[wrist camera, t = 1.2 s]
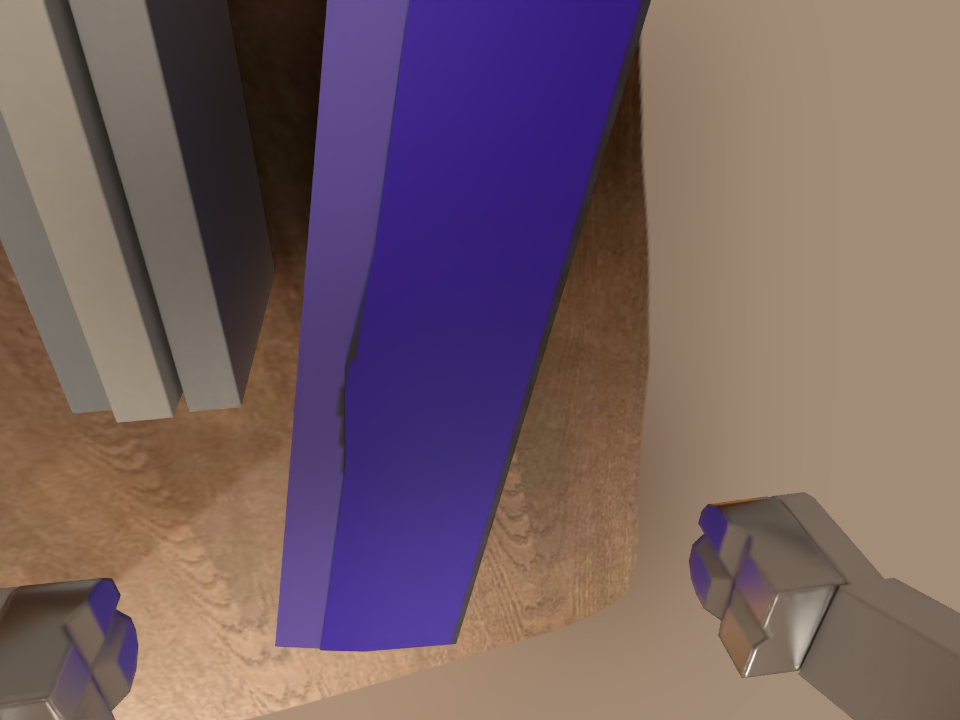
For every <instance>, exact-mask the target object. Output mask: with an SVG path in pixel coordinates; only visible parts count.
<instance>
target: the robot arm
mask: <svg viewBox="0 0 960 720" xmlns="http://www.w3.org/2000/svg"><path fill="white" fill-rule="evenodd" d="M698 524H699V525H700V527H701V529H702V530H703V532H704V534H703V535H702V536H701V537H700V538H699V539H698V540H697V541H696V542H695V543H694V544H693V545H692V549H691V554H690V558H689V565H690V574H691V580H692V583H693V586H694V589H695V592H696V594H697V596H698V598H699V600H700V602H701V604H702V606H703V608H704V609H705V610H707V611H708V612H710V613H711V614H713V615H714V616H716V617H717V618H718V619H720V620H721V623H720V629H719V635H718V636H719V637H720V639H721V641H722V643H723V645H724V647H725V648H726V650H727V652H728V654H729V656H730V658H731V659H732V661H733V663H734V665H735V666H736V668H737V670H738V672H739V674H740V676H741V678H747V677H754V676H762V675H770V674H777V673H785V672H792V671H799V673H798V674H799V675H800V676H801V677H803V678H804V679H805V680H806V681H808V682H809V683H810V684H811V685H812V686H813V687H815V688H816V689H817V690H818V691H820V692H821V693H822V694H823V695H824V696H826V697H827V698H828V699H829V700H830V701H832V702H833V703H834V704H835V705H836V706H838V707H839V708H840V709H841V710H843V711H844V712H845V713H846V714H848V715H849V716H850V717H851V718H852V719H853V720H960V613H958V612H956V611H955V610H953V609H951V608H949V607H947V606H945V605H944V604H942V603H940V602H938V601H936V600H934V599H932V598H931V597H929V596H926V595H925V594H923V593H921V592H919V591H918V590H916V589H913V588H912V587H910V586H908V585H906V584H905V583H903V582H901V581H899V580H897V579H895V578H891V579H884V578H883V577H882V576H881V574H880V573H879V572H878V571H877V570H876V569H875V568H874V566H873V565H872V564H871V563H870V562H869V561H868V559H867V558H866V557H865V556H864V555H863V554H862V552H861V551H860V550H859V549H858V548H857V547H856V546H855V544H854V543H853V542H852V541H851V540H850V539H849V537H848V536H847V535H846V534H845V533H844V532H843V531H842V530H841V528H840V527H839V526H838V525H837V524H836V523H835V521H834V520H833V519H832V518H831V517H830V516H829V514H828V513H827V512H826V511H825V510H824V509H823V508H822V506H821V505H820V504H819V503H818V502H817V501H816V499H815V498H813V497H812V496H810V495H808V494H807V493H805V492H803V493H795V494H787V495H779V496H772V497H760V498H752V499H746V500H738V501H730V502H722V503H715V504H708V505H707V506H706V507H705V508H704V509H703V510H702V512H701V516H700V519H699V523H698ZM120 596H121V595H120V593H119V591H118V589H117V587H116V585H115V583H114V581H113V579H110V578H99V579H89V580H79V581H68V582H58V583H47V584H37V585H27V586H20V587H11V588H2V589H0V720H115V718H114V716H113V714H112V712H111V711H112V710H113V709H114V708H115V707H116V706H117V705H118V704H119V703H120V702H121V701H122V700H123V698H124V697H125V696H126V695H127V694H128V693H129V692H130V690H131V686H132V683H133V679H134V676H135V672H136V667H137V655H138V641H137V635H136V629H135V627H134V624H133V622H132V620H131V617H129V616H127V615H125V614H123V613H122V612H120V611H118V610H116V607H117V604H118V601H119V599H120Z"/></svg>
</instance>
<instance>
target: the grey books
mask: <svg viewBox="0 0 960 720" xmlns="http://www.w3.org/2000/svg"><path fill="white" fill-rule="evenodd" d="M0 240H1V242H2V245H3V247H4V249H5V252H6V254H7V257H8V259H9V261H10V264H11V266H12V269H13V271H14V273H15V276H16V278H17V281H18V283H19V286H20V288H21V290H22V293H23V295H24V298H25V300H26V302H27V305H28V307H29V310H30V312H31V315H32V317H33V319H34V322H35V324H36V327H37V329H38V331H39V334H40V336H41V339H42V341H43V343H44V346H45V348H46V351H47V353H48V356H49V358H50V360H51V363H52V365H53V368H54V370H55V372H56V375H57V377H58V380H59V382H60V384H61V387H62V389H63V392H64V394H65V397H66V399H67V401H68V404H69V406H70V409H71V411H72V413H81V412H93V411H104V410H112V412H113V414H114V417H115V420H116V422H128V421H139V420H150V419H161V418H172V417H173V416H174V413H175V411H176V408H177V406H178V403H179V401H180V398H181V396H182V393H183V394H184V397H185V400H186V404H187V407H188V410H189V411H202V410H213V409H224V408H236V407H241V405H242V401H243V397H244V393H245V389H246V385H247V382H248V378H249V374H250V370H251V366H252V362H253V358H254V354H255V350H256V346H257V342H258V338H259V334H260V330H261V326H262V322H263V318H264V314H265V310H266V306H267V302H268V299H269V295H270V291H271V287H272V283H273V279H274V275H275V268H274V262H273V257H272V251H271V245H270V240H269V234H268V228H267V223H266V217H265V212H264V206H263V200H262V195H261V189H260V183H259V178H258V172H257V166H256V161H255V155H254V149H253V144H252V138H251V133H250V127H249V121H248V116H247V110H246V104H245V99H244V93H243V87H242V82H241V76H240V70H239V65H238V59H237V54H236V48H235V42H234V37H233V31H232V25H231V20H230V14H229V8H228V3H227V0H0Z"/></svg>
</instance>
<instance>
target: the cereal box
mask: <svg viewBox="0 0 960 720" xmlns="http://www.w3.org/2000/svg"><path fill="white" fill-rule="evenodd" d="M650 1H651V0H327V9H326V22H325V34H324V47H323V59H322V72H321V84H320V96H319V109H318V121H317V134H316V146H315V159H314V171H313V184H312V196H311V209H310V221H309V233H308V246H307V258H306V271H305V283H304V296H303V308H302V321H301V333H300V346H299V358H298V370H297V383H296V395H295V408H294V420H293V433H292V445H291V458H290V470H289V482H288V495H287V507H286V520H285V532H284V545H283V557H282V570H281V582H280V595H279V607H278V619H277V632H276V644H275V646H279V647H300V648H320V650H330V651H376V650H388V649H400V648H412V647H424V646H436V645H448V644H456V643H457V639H458V636H459V633H460V629H461V626H462V623H463V619H464V616H465V613H466V609H467V606H468V603H469V600H470V596H471V593H472V590H473V586H474V583H475V580H476V576H477V573H478V570H479V567H480V563H481V560H482V557H483V553H484V550H485V547H486V543H487V540H488V537H489V533H490V530H491V527H492V524H493V520H494V517H495V514H496V510H497V507H498V504H499V500H500V497H501V494H502V491H503V487H504V484H505V481H506V477H507V474H508V471H509V467H510V464H511V461H512V457H513V454H514V451H515V448H516V444H517V441H518V438H519V434H520V431H521V428H522V424H523V421H524V418H525V414H526V411H527V408H528V405H529V401H530V398H531V395H532V391H533V388H534V385H535V381H536V378H537V375H538V372H539V368H540V365H541V362H542V358H543V355H544V352H545V348H546V345H547V342H548V338H549V335H550V332H551V329H552V325H553V322H554V319H555V315H556V312H557V309H558V305H559V302H560V299H561V295H562V292H563V289H564V286H565V282H566V279H567V276H568V272H569V269H570V266H571V262H572V259H573V256H574V253H575V249H576V246H577V243H578V239H579V236H580V233H581V229H582V226H583V223H584V219H585V216H586V213H587V210H588V206H589V203H590V200H591V196H592V193H593V190H594V186H595V183H596V180H597V177H598V173H599V170H600V167H601V163H602V160H603V157H604V153H605V150H606V147H607V143H608V140H609V137H610V134H611V130H612V127H613V124H614V120H615V117H616V114H617V110H618V107H619V104H620V100H621V97H622V94H623V91H624V87H625V84H626V81H627V77H628V74H629V71H630V67H631V64H632V61H633V58H634V54H635V51H636V48H637V44H638V41H639V38H640V34H641V31H642V28H643V24H644V21H645V17H646V14H647V11H648V8H649V5H650Z"/></svg>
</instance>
